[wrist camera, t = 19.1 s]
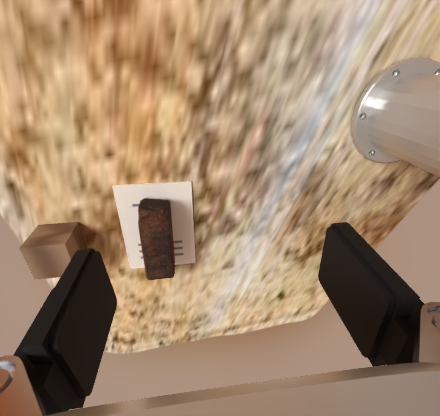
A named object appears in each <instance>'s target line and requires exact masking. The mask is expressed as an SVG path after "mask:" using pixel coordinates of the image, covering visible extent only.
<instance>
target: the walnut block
mask: <svg viewBox="0 0 440 416" xmlns="http://www.w3.org/2000/svg"><path fill="white" fill-rule="evenodd" d="M81 249H87V247H86V244H85V241H84V238H83V235H82V232H81V229H80V226H79V223H78V222H71V223H58V224H45V225H38V226H37V228H36V229H35V230H34V231H33V232H32V234H31V235H30V236H29V237H28V238H27V240H26V241H25V242H24V243H23V244H22V246H21V247H20V250H21V252H22V254H23V256H24V258H25V260H26V263H27V265H28V266H29V268H30V270H31V273H32V275H33V277H34V279H44V278H54V277H61V276H62V274H63V273H64V271H65V269H66V267H67V266H68V264H69V262H70V261H71V259H72V257H73V255H74V254H75V252H76V251H77V250H81Z"/></svg>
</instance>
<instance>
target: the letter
mask: <svg viewBox="0 0 440 416" xmlns="http://www.w3.org/2000/svg"><path fill="white" fill-rule="evenodd" d="M112 187H113V191H114V196H115V200H116V205H117V210H118V214H119V219H120V223H121V228H122V232H123V237H124V242H125V246H126V251H127V255H128V260H129V264H130V269H133V268H144V267H145V265H144V260H143V254H142V248H141V241H140V234H139V227H138V216H139V214H138V206H139V204H140V201H141V200H142V199H144V198H149V199H163V200H169V201H170V204H171V216H172V229H173V242H174V257H175V265H177V264H188V263H196V260H195V242H194V223H193V205H192V186H191V181H183V182H164V183H145V184H126V185H112Z"/></svg>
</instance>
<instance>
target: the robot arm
mask: <svg viewBox="0 0 440 416" xmlns="http://www.w3.org/2000/svg"><path fill="white" fill-rule="evenodd" d="M351 132H352V139H353V142H354V145H355V146H356V148H357V150H358V151H359V152H360V153H361V154H362V155H363V156H365V157H367V158H368V159H371V160H373V161H375V162H381V163H389V162H395V161H399V160H403V161H405V162H407V163H409V164H411V165H414V166H416V167H418V168H420V169H422V170H425V171H427V172H429V173H431V174H433V175H436V176H438V177H440V63H438V62H436V61H434V60H432V59H426V58H410V59H406V60H402V61H399V62H397V63H395V64H392V65H391V66H389V67H388V68H386V69H385V70H383V71H382V72H381V73H380V74H378V75H377V76H376V77H375V78H374V79H373V80H372V81H371V82H370V84H369V85H368V86H367V87H366V89H365V90H364V92H363V93H362V95H361V96H360V98H359V100H358V103H357V105H356V107H355V110H354V113H353V117H352V124H351ZM318 277H319V281H320V284H321V285H322V287H323V289H324V290H325V292H326V294H327V296H328V297H329V299H330V300H331V302H332V304H333V306H334V307H335V309H336V311H337V312H338V314H339V316H340V317H341V319H342V321H343V323H344V325H345V326H346V328H347V330H348V331H349V333H350V335H351V337H352V338H353V340H354V342H355V343H356V345H357V347H358V348H359V350H360V352H361V354H362V355H363V356H364V357H368V359H369V360H370V362H371V364H372V365H373V367H367V368H359V369H351V370H344V371H337V372H329V373H321V374H314V375H306V376H300V377H293V378H285V379H278V380H270V381H263V382H256V383H249V384H241V385H234V386H227V387H220V388H213V389H206V390H199V391H192V392H185V393H179V394H172V395H165V396H158V397H152V398H144V399H137V400H131V401H124V402H117V403H112V404H105V405H100V406H93V407H88V408H83V404H84V401H85V398H86V396H89V395H90V394H91V392H92V389H93V386H94V382H95V379H96V375H97V372H98V368H99V365H100V362H101V358H102V355H103V351H104V348H105V344H106V341H107V337H108V334H109V331H110V327H111V324H112V320H113V317H114V313H115V310H116V306H117V299H116V296H115V293H114V290H113V287H112V284H111V282H110V279H109V276H108V273H107V271H106V268H105V265H104V262H103V260H102V257H101V254H100V252H98V251H97V252H96V251H95V250H94V249H93V248H91V249H81V250H77V251H76V252H75V254H74V255H73V257H72V259H71V261H70V262H69V264H68V266H67V267H66V269H65V271H64V273H63V274H62V276H61V278H60V279H59V281H58V283H57V285H56V286H55V287H54V288H53V290H52V291H51V292H50V294H49V296H48V297H47V299H46V301H45V303H44V304H43V306H42V308H41V309H40V311H39V313H38V314H37V316H36V318H35V320H34V321H33V323H32V325H31V326H30V328H29V330H28V331H27V333H26V335H25V337H24V338H23V340H22V342H21V343H20V345H19V347H18V348H17V350H16V352H15V354H14V355H9V356H3V357H0V416H440V302H430V303H426V304H424V303H423V302H422V301H421V300H420V299H419V298H420V297H419V296H418V295H417V294H416V293H415V292H414V291H413V290H412V289H411V288H410V287H409V286H408V285H407V283H406V282H405V281H404V280H403V279H402V278H401V277H400V276H399V275H398V274H397V273H396V272H395V271H394V270H393V269H392V268H391V267H390V266H389V265H388V264H387V263H386V262H385V261H384V260H383V259H382V258H381V257H380V256H379V254H377V252H376V251H375V250H374V249H373V248H372V247H371V246H370V245H369V244H368V243H367V242H366V241H365V240H364V239H363V238H362V237H361V236H360V235H359V234H358V233H357V232H356V231H355V230H354V229H353V227H352V226H351V225H350V224H349V223H347V222H343V223H333V224H332V225H331V227H329V228H327V231H326V237H325V242H324V247H323V253H322V258H321V263H320V269H319V274H318ZM381 365H385V366H381ZM374 366H376V367H374ZM75 408H81V409H75ZM69 409H75V410H69ZM68 410H69V411H68Z"/></svg>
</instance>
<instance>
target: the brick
mask: <svg viewBox="0 0 440 416" xmlns="http://www.w3.org/2000/svg"><path fill="white" fill-rule="evenodd" d="M138 214H139V216H138V227H139V234H140V241H141V248H142V254H143V260H144V265H145V272H146V277H147V279H148V280H155V279H163V278H173V277H174V274H175V257H174V242H173V229H172V216H171V204H170V201H169V200H163V199H149V198H144V199H142V200H141V201H140V204H139V206H138Z"/></svg>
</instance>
